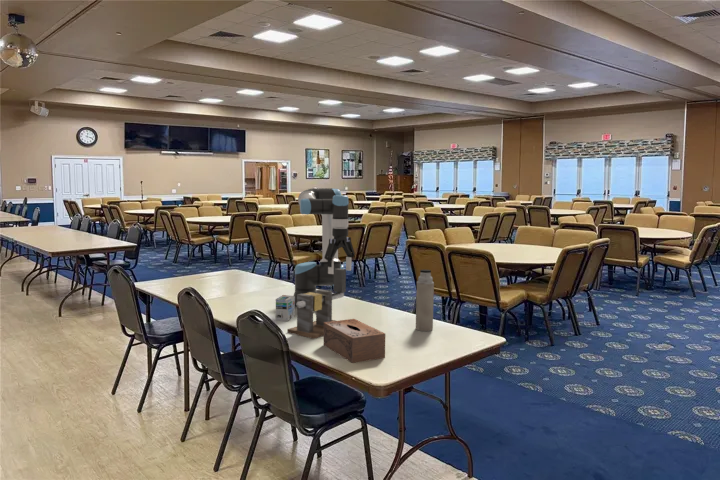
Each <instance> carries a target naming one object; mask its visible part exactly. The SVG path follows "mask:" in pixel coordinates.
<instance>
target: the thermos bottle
mask: <svg viewBox="0 0 720 480" xmlns="http://www.w3.org/2000/svg"><path fill="white" fill-rule="evenodd" d="M431 272H432V270H431V269H420V275H419V276H417V277H418V278H417V279H418V281H417V280H416V300H415V330H417V331H419V330H420V331H421V332H430V331H429V330H431V331H432V329H434V301H435V300H434V298H435V297H434V293H435V291H434V290H435V282H434V281H433V279H434V278H433V276H432V273H431Z"/></svg>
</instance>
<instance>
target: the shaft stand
mask: <svg viewBox="0 0 720 480" xmlns="http://www.w3.org/2000/svg"><path fill="white" fill-rule="evenodd" d="M316 293H318V294H322V296H325V302H323V303H322V309H321V310H318V311H315V312H316V313H315V316H316V317H315V321H314V311H313V295H307V294H297V302H299V301H303V300H305V301H306V307H303V308H298V307H296V326H293V327H291V328H287V333H289V334H293V335H297V336H301V337H304V338H305V337H306V338H309V339H317V338H320V337H324V322H332V321H336V320H335V319H333V312H332V311H333V300H332V293H333V290H327V289H321V288H320V289H316Z"/></svg>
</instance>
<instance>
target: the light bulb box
mask: <svg viewBox="0 0 720 480" xmlns="http://www.w3.org/2000/svg"><path fill="white" fill-rule="evenodd" d="M295 307H296V306H295V296H294V295H290V294H289V295H288V294H287V295H286V294H282V295H280V296H278V297H277V298H275V320H276V321H285V322H289V321H290V320H291V319H293V318H294V317H295V315H296V311H295V310H296V308H295Z"/></svg>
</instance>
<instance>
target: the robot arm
mask: <svg viewBox="0 0 720 480" xmlns="http://www.w3.org/2000/svg"><path fill="white" fill-rule="evenodd" d="M297 201H298V205H299V211H300V214H301V215H306V216H307V215H321V222H322V223H321V231H322V232H321V233H322V238H321V240H322V243H321V244H322V248H321V249H322V252H321V253H322V259H320V261H319V264H317V262H315V261H307V262H301V263H298V264H296V265H295V267H294V293H293V296H295V307H296V308H297V305H296V304H297V294H305V293H309V292H312V293H316V290H317V286H319V287H320V286H321V287H325V286H327V287H330V286H333V287H334V269H337V268H339V269H346V271H348V272H349V271H351V272H352V263H353V262H352V261H353V258H354V257H355V255H356V253H355V249H354V247H353V244H352V237H351V236H349V229H348V228H349V204H350V202H349V196H348V195H342V192H341V190H340V189H338V188H330V187H328V188H322V187H321V188H315V187H313V188H308V189H306V190H304V191H302V192H300V193H299V195H298V198H297ZM340 248H342V249H343V251H344V253H345V254H346V257H345V267H344V264H342V263H341V260H340V259H339V249H340Z"/></svg>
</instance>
